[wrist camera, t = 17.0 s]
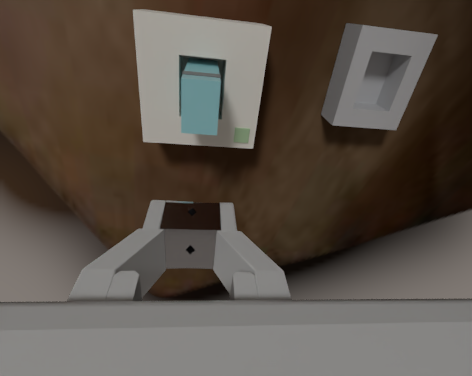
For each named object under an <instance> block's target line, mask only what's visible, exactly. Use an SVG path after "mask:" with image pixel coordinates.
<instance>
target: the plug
mask: <svg viewBox="0 0 472 376" xmlns="http://www.w3.org/2000/svg"><path fill="white" fill-rule="evenodd" d="M220 87H221V75H220V74H219V68H218V62H217V61H215V60H205V59H195V58H189V59H188V62H187V64H186V67H185V70H184V71H183V72H182V77H181V133H189V134H204V135H217V128H218V114H219V100H220Z"/></svg>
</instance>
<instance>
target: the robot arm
mask: <svg viewBox="0 0 472 376" xmlns="http://www.w3.org/2000/svg"><path fill="white" fill-rule="evenodd" d="M166 268H204V269H213V270H214V272H215V273H216V275H217V276H218V277H219V279H220V280H221V282H222V283H223V285H224V286H225V288H226V289H227V291H228V292H229V294H230V297H229V300H215V301H142V297H143V296H144V295H145V294H146V293H147V291H148V290H149V289H150V288H151V287H152V285H153V284H154V283H155V282H156V281H157V280H158V278H159V277H160V276H161V275H162V274H163V273H164V271H165V270H166ZM0 376H472V299H371V300H370V299H366V300H365V299H364V300H363V299H361V300H292V299H291V296H290V292H289V289H288V285H287V282H286V278H285V275H284V271H283V270H282V269H281V268H280V267H279V266H278V265H276V264H275V263H274V262H273V261H272V260H271V259H270V258H269V257H268V256H267V255H266V254H265V253H264V252H262V251H261V250H260V249H259V248H258V247H257V246H256V245H255V244H254V243H253V242H252V241H251V240H250V239H249V238H247V237H246V236H245V235H244V234H243V233H242V232H241V231H237V227H236V219H235V212H234V204H233V203H197V202H183V201H165V200H152V201H151V202H150V206H149V209H148V212H147V216H146V219H145V222H144V226H143V229H137V230H136V231H135V232H133V233H132V234H130V235H129V236H128V237H126V238H125V239H124V240H122V241H121V242H119V243H118V244H117V245H115V246H114V247H112V248H111V249H110V250H108V251H107V252H106V253H104V254H103V255H101V256H100V257H99V258H97V259H96V260H94V261H93V262H92V263H90V264H89V265H87V266H86V267H85V268H83V269H82V271H81V273H80V275H79V277H78V279H77V281H76V283H75V285H74V287H73V289H72V292H71V294H70V296H69V298H68V300H67V302H0Z"/></svg>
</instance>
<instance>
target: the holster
mask: <svg viewBox="0 0 472 376" xmlns="http://www.w3.org/2000/svg"><path fill="white" fill-rule="evenodd" d="M437 36H438V35H437V34H429V33H421V32H413V31H405V30H398V29H390V28H382V27H374V26H366V25H358V24H349V23H346V26H345V30H344V33H343V37H342V41H341V44H340V48H339V51H338V55H337V59H336V62H335V66H334V69H333V73H332V77H331V80H330V84H329V88H328V91H327V95H326V98H325V102H324V106H323V109H322V113H321V115H322V116H323V117H324V118H325V119H326V120H327V121H328V122H329V123H330V124H331V125H334V126H347V127H360V128H373V129H386V130H396V129H397V127H398V125H399V122H400V120H401V118H402V115H403V113H404V111H405V109H406V106H407V104H408V102H409V100H410V97H411V95H412V93H413V90H414V88H415V86H416V84H417V81H418V79H419V77H420V75H421V72H422V70H423V68H424V65H425V63H426V61H427V59H428V56H429V54H430V52H431V50H432V47H433V45H434V43H435V40H436V38H437Z"/></svg>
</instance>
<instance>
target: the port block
mask: <svg viewBox="0 0 472 376" xmlns="http://www.w3.org/2000/svg"><path fill="white" fill-rule="evenodd" d="M133 19H134V31H135V44H136V56H137V69H138V82H139V94H140V107H141V119H142V132H143V142H153V143H169V144H184V145H200V146H216V147H232V148H248V149H253V146H254V139H255V133H256V126H257V120H258V113H259V107H260V100H261V94H262V87H263V81H264V74H265V67H266V61H267V54H268V48H269V41H270V35H271V28H272V27H271V26H268V25H265V24H259V23H251V22H243V21H235V20H227V19H219V18H211V17H202V16H194V15H186V14H178V13H170V12H162V11H153V10H145V9H141V10H133ZM189 58H195V59H205V60H215V61H217V62H218V68H219V74H220V75H221V87H220V100H219V114H218V128H217V135H204V134H189V133H181V77H182V72H183V71H184V70H185V67H186V64H187V62H188V59H189Z"/></svg>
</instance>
